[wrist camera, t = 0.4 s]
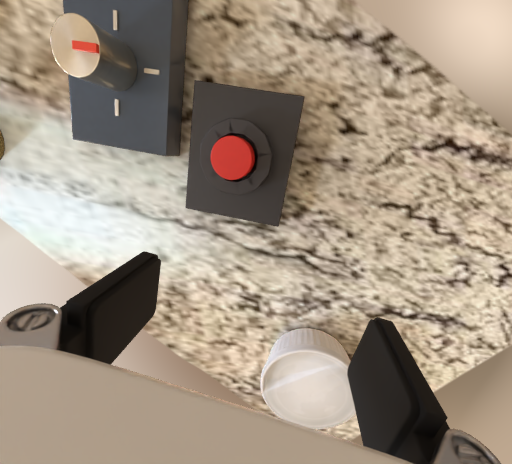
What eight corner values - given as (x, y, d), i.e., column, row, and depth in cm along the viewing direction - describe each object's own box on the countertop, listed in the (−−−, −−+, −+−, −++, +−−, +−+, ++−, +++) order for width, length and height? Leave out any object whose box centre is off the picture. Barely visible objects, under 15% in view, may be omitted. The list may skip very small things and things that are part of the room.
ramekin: (289, 304, 30) (288, 333, 25) (371, 345, 30) (386, 383, 25) (251, 365, 34) (243, 401, 29) (324, 401, 34) (329, 444, 29)
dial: (97, 88, 23) (49, 72, 19) (95, 37, 22) (43, 7, 17) (137, 94, 23) (98, 79, 18) (137, 43, 22) (95, 13, 17)
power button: (218, 133, 22) (212, 132, 21) (258, 140, 22) (255, 139, 20) (214, 174, 23) (208, 176, 22) (251, 181, 23) (248, 183, 21)
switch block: (203, 86, 25) (186, 74, 21) (303, 101, 24) (305, 91, 20) (193, 204, 28) (177, 211, 25) (279, 221, 27) (277, 231, 24)
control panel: (88, -16, 23) (58, -40, 20) (189, -4, 23) (172, -28, 20) (95, 140, 28) (71, 139, 25) (179, 155, 27) (165, 156, 24)
